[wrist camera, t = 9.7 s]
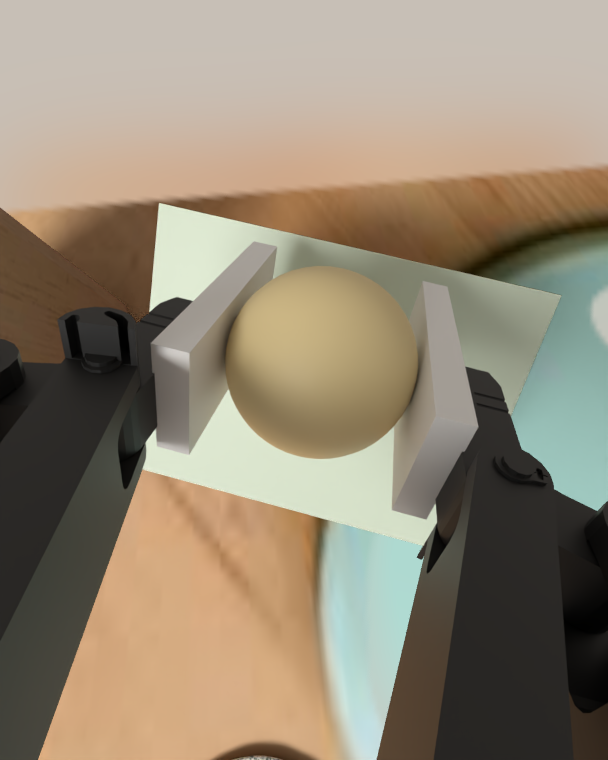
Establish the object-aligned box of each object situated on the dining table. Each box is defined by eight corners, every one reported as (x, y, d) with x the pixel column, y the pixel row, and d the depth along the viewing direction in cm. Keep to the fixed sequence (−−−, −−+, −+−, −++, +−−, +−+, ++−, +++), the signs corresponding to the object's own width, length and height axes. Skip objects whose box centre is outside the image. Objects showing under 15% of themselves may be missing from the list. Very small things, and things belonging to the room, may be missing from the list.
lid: (551, 292, 15) (780, 353, 7) (449, 541, 19) (515, 775, 10) (169, 204, 16) (-44, 163, 8) (144, 458, 19) (-16, 614, 11)
